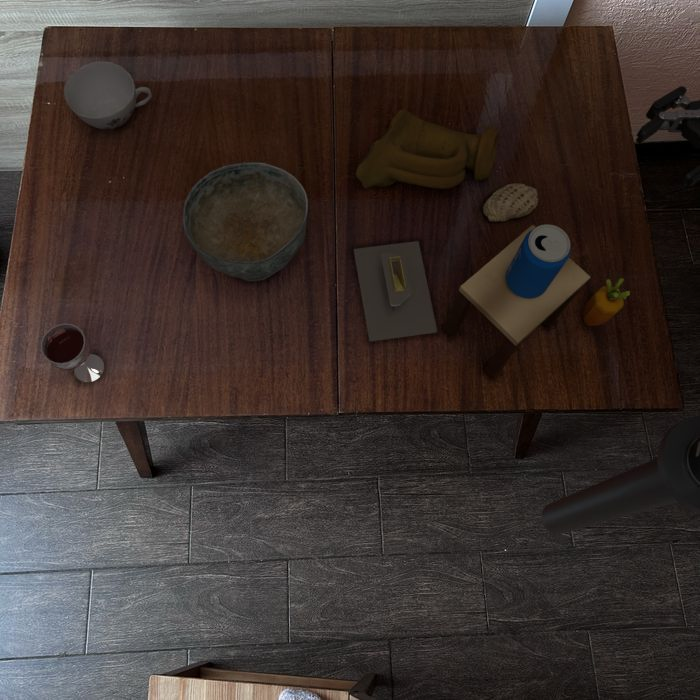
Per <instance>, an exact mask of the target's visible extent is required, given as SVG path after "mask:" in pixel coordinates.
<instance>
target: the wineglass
mask: <svg viewBox="0 0 700 700" xmlns="http://www.w3.org/2000/svg"><path fill="white" fill-rule="evenodd" d="M91 344H92V343H91V341H90V339H89V337H88V335H87V334H86V333H85V332H84V331H83V330H82V329H81V328H80V327H79V326H77V325H75V324H73V323H66V322H65V323H60V324H59V323H58V324H56V325H54V326H52V327H51V328H49V329H48V330H47V331H46V332H45V333H44V335H43V337H42V339H41V342H40V351H41V353H42V356H43V357H44V359H46V360H47V362H49V363H50V364H51V365H52V366H53V367H54V368H57V369H59V370H63V371H64V370H65V371H69V370H70V371H71V370H73V373H74V376H75V377H76V378H77V380H79V381H81V382H83V383H92V382H94V381H96V380H98V379H99V378H101V376H102V374H103V373H104V370H105V363H104V361H103V359H102V358H101V357H100V356H99V355H96V354H94V353H93V354H92V353H91V351H92V346H91Z"/></svg>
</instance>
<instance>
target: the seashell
mask: <svg viewBox="0 0 700 700" xmlns="http://www.w3.org/2000/svg"><path fill="white" fill-rule="evenodd" d="M538 195H539V194H538V189H537V188H535V187H532V186H529V185H525V184H524V183H519V182H518V183H517V182H514V183H513V182H512V183H508V184H506V185H503V186H501V187H500V188H498V189H497V190H496V191H495V192H493V193H492V194H491V195H490V196H489V197H488V198H487V199H486V201H485V203H484V204H483V206H482V210H483V211H482V212H483V215H484V216H486V217H487V220H488V222H493V223H495V222H503V223H505V222H506V221H509V220H510V219H519V218H522V217H525V216H528V215H529V214H531V213H532V212H533V211H534V210H535V209H536V208H537V206H538V204H539V198H538Z"/></svg>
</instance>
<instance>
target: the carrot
mask: <svg viewBox="0 0 700 700" xmlns="http://www.w3.org/2000/svg"><path fill="white" fill-rule="evenodd" d="M624 281H625V278H623V277H622V278H619V279H618V281H617V282H616V284H615V285H614V286H612V281H611V279H610V278H607V279H606V282H605V283H606V286H601V287H599V289H598V290H596V291H595V293H594V294H593V295H592V296H591V297H590V299H589V300H588V301H587V303H586V304H585V306H584V308H583V309H584V310H583V323H584V325H586V327H587V326H588V327H590V326H591V327H598V326H601V325H603V324H605V323H607V322H608V321H609V320H610V319H612V318H613V317H614V316H615V315H616V314H617V313H618V312H619V311H620V310H622V308H623V307H624V305H625V302H624V300H626V299H627V297H628V296H630V295H631V291H630V290H626V291H622V292H621V291H620V288H619V287H620V286H621V285H622V283H623V282H624Z"/></svg>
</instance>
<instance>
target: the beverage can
mask: <svg viewBox="0 0 700 700" xmlns="http://www.w3.org/2000/svg"><path fill="white" fill-rule="evenodd" d="M535 227H536V228H534V229H532V230H531V231H529V232H528V233H527V235H526V236H525V238H524V240H523V242H522V243H521V245H520V247H519V249H518V251H517V253H516V255H515V256H514V258H513V260H512V262H511V264H510V266H509V268H508V270H507V272H506V282H507V285H508V287H509V288H510V290H511V291H512V292H513V293H514V294H516V295H517V296H519V297H522V298H526V299H532V298H537V297H539V296H541V295H542V294H543V293H544V292H545V291H546V290H547V288H548V287H549V286H550V284H551V283H552V281H553V280H554V278H555V277H556V276H557V274H558V273H559V271H560V270H561V268H562V267H563V266H564V264H565V263H566V261H567V260H568V258H570V256H571V240H570V238H569V235H568V234H567V233H566V232H565V231H564V230H563V229H562V228H560V227H559V226H557V225H554V224H541V225H538V226H535Z"/></svg>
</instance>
